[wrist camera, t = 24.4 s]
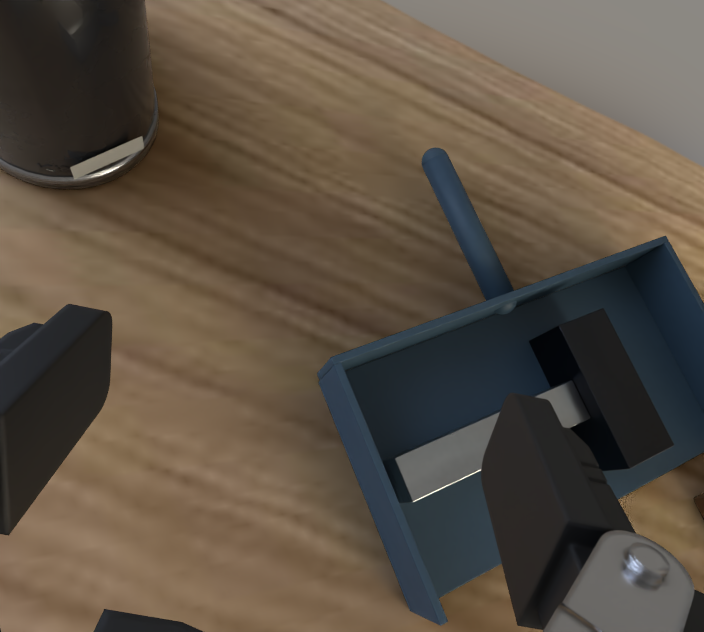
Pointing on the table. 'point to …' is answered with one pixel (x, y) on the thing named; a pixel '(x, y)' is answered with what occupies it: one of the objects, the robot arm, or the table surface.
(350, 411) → the scoop
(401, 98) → the table surface
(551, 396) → the t-shaped mallet
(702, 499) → the stand
